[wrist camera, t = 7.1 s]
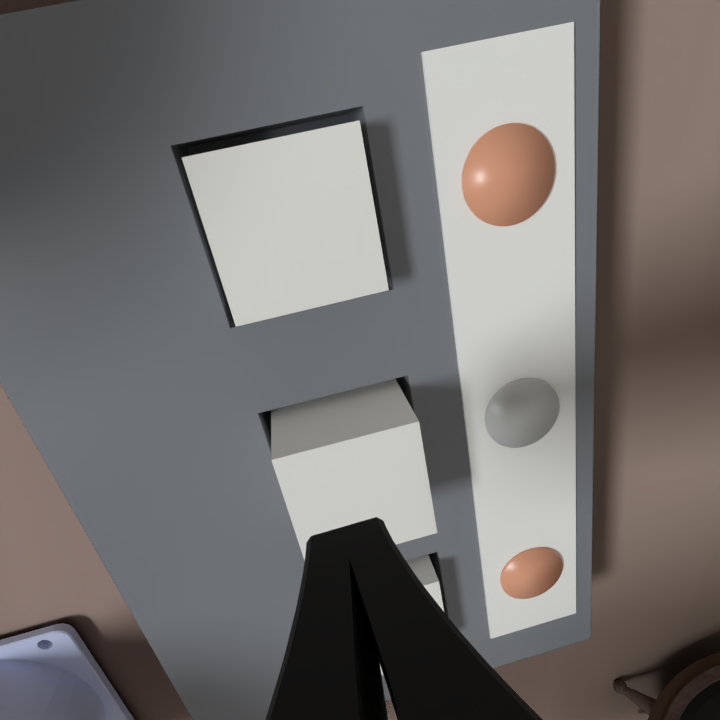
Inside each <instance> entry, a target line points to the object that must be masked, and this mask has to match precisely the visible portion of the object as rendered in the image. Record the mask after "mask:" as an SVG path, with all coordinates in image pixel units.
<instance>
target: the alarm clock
mask: <svg viewBox="0 0 720 720" xmlns="http://www.w3.org/2000/svg"><path fill="white" fill-rule="evenodd" d="M613 686H614V690H615V691H616V692H617V693H618V694H625V695H626V696H627V697H628V698H630V699H631V700H632V701H633V702H634V703H635V704H637V705H638V706H639V707H640V708H641V709H643V710H644V711H645V712H646V713H647V714H648V715H649V718H648V720H720V653H717V654H713V655H710V656H708V657H705V658H703V659H700V660H698V661H697V662H695V663H693V664H691V665H689V666H688V667H686V668H685V669H684V670H682V671H681V672H679V673H678V674H677V675H676V676H675V677H674V678H673V679H672V680H671V681H670V682H669V683H668V684H667V685H666V687H665V688H664V689H663V690H662V692H661V693H660V695H659V697H658V698H657V700H656V699H654V698H651V697H649V696H647V695H645V694H642V693H640V692H638V691H636V690H633V689H631V688H629V687H627V686H626V684H625V682H624V681H623V680H620V679H619V680H616V681H615V682H614V684H613Z"/></svg>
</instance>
